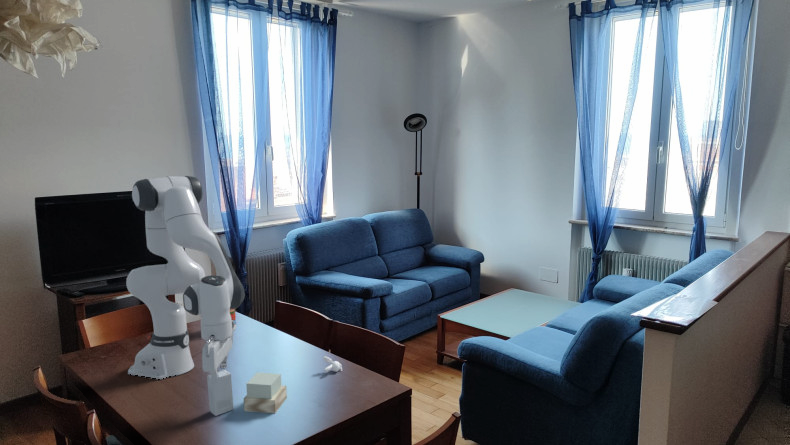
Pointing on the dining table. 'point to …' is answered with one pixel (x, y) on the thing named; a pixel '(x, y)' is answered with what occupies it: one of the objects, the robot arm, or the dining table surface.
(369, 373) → the dining table surface
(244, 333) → the dining table surface
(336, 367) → the rabbit figurine
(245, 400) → the birch base block
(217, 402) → the skincare box
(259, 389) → the sage top block
